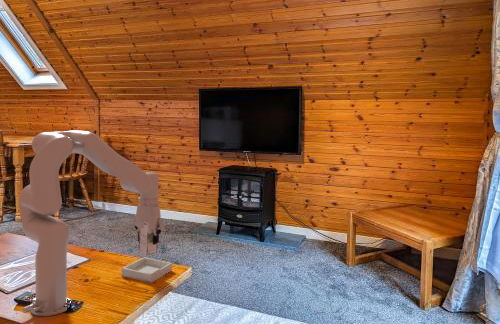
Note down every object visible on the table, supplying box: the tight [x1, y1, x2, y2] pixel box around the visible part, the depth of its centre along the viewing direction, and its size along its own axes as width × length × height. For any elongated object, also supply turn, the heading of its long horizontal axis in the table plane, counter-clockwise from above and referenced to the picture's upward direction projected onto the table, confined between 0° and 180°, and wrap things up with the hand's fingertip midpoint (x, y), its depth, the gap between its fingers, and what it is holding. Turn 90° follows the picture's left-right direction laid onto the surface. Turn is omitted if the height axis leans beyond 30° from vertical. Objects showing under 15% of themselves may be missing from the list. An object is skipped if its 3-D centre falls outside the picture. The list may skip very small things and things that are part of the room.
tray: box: [121, 256, 173, 284], centre depth 167 cm, size 15×15×4 cm
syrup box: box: [138, 221, 159, 256], centre depth 165 cm, size 6×6×14 cm
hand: (148, 242), depth 166 cm, fingers closed on syrup box, 7 cm apart
